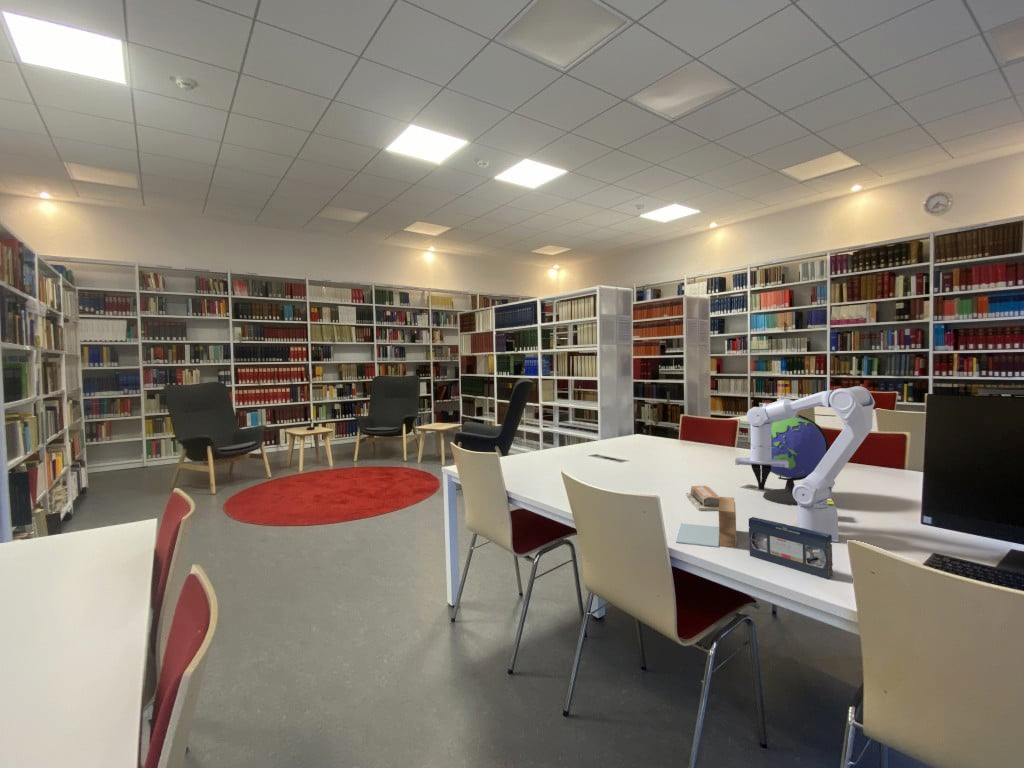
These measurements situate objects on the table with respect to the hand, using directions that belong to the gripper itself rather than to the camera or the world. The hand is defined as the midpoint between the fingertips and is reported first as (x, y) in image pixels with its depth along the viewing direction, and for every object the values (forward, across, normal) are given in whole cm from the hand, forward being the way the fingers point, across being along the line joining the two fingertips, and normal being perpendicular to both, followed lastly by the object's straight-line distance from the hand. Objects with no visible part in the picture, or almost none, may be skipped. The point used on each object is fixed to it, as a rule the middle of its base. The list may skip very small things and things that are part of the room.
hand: (761, 488), depth 146 cm
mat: (+10, +17, +17) cm, 27 cm away
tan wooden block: (+10, +10, +17) cm, 22 cm away
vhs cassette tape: (+10, -4, +32) cm, 34 cm away
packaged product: (+12, +17, -16) cm, 26 cm away
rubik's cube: (+11, -18, -10) cm, 23 cm away
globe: (+11, -11, -30) cm, 33 cm away
